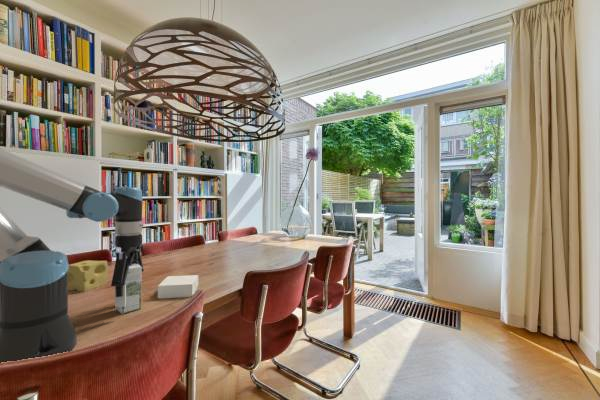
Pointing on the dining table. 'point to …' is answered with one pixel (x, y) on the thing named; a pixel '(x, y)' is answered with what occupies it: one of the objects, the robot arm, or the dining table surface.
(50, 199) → the robot arm
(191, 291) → the cream block
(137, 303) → the syrup box
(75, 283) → the cheese
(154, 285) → the dining table surface
